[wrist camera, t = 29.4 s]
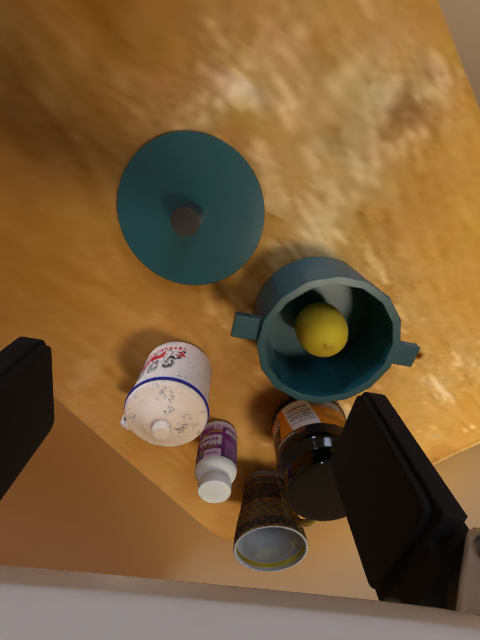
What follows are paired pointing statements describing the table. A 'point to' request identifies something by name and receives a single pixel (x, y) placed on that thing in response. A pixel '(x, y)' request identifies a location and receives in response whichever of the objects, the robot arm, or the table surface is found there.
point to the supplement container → (308, 456)
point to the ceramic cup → (268, 526)
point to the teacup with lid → (170, 396)
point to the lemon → (321, 329)
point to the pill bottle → (216, 461)
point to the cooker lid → (190, 208)
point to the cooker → (361, 317)
